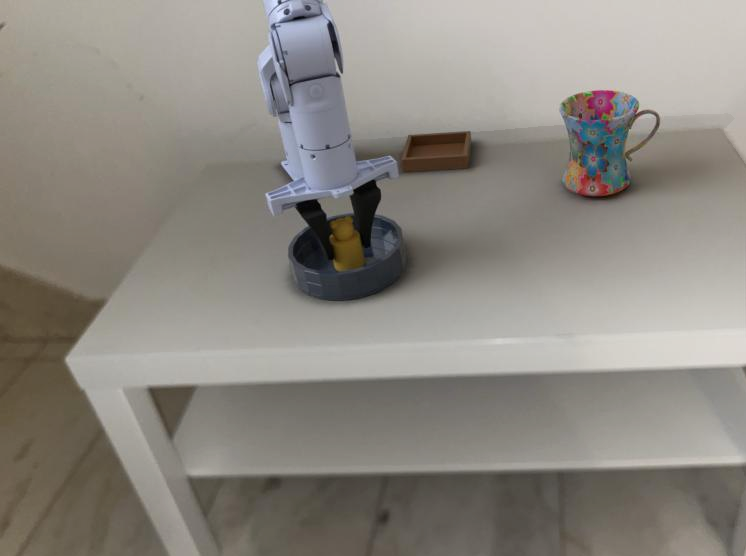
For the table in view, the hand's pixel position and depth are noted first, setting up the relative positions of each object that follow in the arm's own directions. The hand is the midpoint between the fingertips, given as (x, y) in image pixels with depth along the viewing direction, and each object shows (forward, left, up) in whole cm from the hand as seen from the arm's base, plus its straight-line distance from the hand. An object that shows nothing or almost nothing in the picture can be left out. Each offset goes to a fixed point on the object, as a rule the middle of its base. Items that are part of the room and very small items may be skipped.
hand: (346, 250), depth 88 cm
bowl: (0, 0, -2) cm, 2 cm away
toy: (0, 0, -2) cm, 2 cm away
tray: (-20, +21, -2) cm, 29 cm away
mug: (+1, +35, -3) cm, 35 cm away
